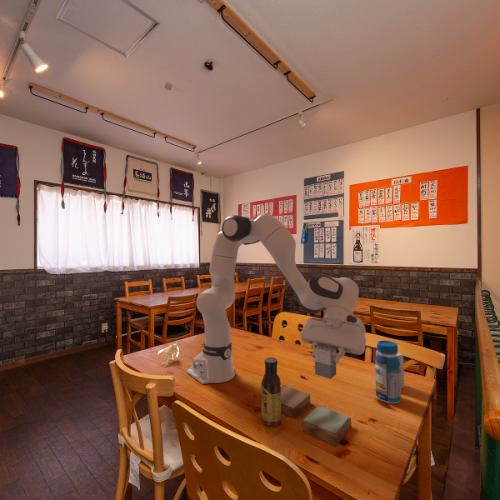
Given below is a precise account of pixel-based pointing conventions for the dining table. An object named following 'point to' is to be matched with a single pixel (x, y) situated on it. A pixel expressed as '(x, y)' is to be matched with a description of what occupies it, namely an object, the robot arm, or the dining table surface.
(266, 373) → the sauce bottle
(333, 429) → the stand right
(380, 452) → the dining table surface
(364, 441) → the dining table surface
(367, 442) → the dining table surface
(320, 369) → the housing
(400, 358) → the small box
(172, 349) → the shrimp
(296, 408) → the stand left
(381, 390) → the beverage bottle
